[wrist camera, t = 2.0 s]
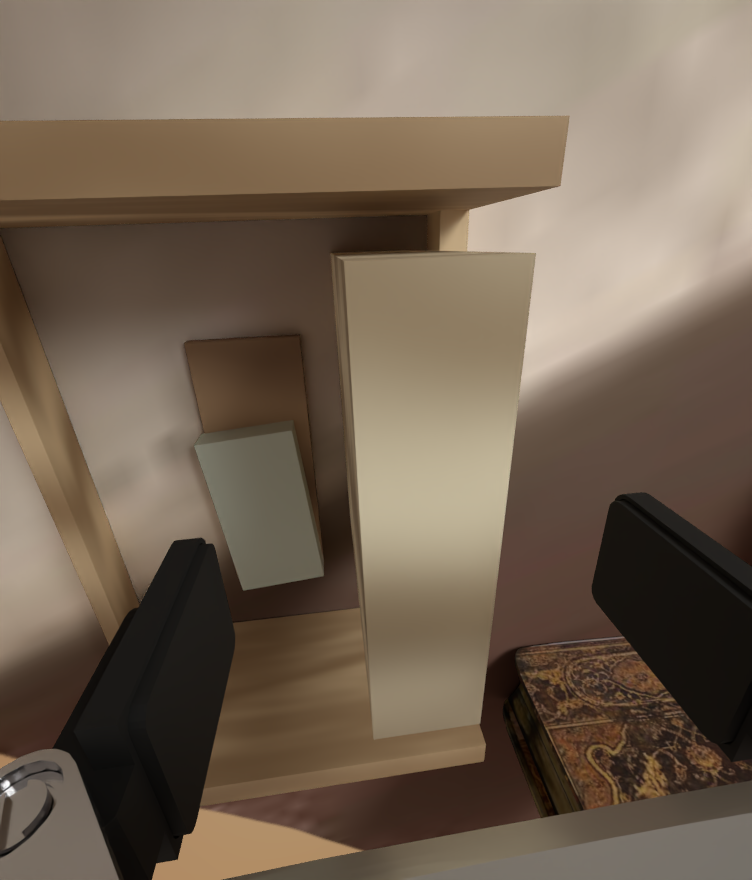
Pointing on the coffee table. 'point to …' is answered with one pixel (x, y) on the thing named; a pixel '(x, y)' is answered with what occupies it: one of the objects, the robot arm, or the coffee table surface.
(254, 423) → the offcut slab bottom
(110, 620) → the pine rack
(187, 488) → the coffee table surface
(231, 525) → the offcut slab top
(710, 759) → the book
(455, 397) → the birch sheet
